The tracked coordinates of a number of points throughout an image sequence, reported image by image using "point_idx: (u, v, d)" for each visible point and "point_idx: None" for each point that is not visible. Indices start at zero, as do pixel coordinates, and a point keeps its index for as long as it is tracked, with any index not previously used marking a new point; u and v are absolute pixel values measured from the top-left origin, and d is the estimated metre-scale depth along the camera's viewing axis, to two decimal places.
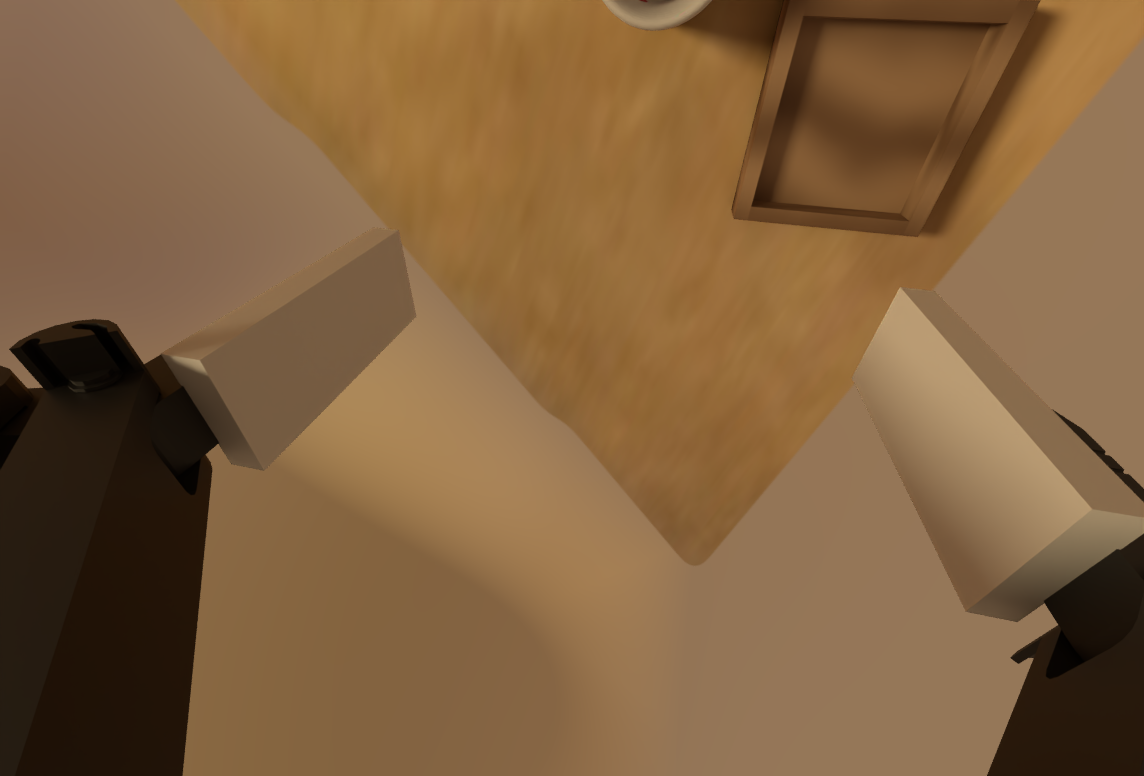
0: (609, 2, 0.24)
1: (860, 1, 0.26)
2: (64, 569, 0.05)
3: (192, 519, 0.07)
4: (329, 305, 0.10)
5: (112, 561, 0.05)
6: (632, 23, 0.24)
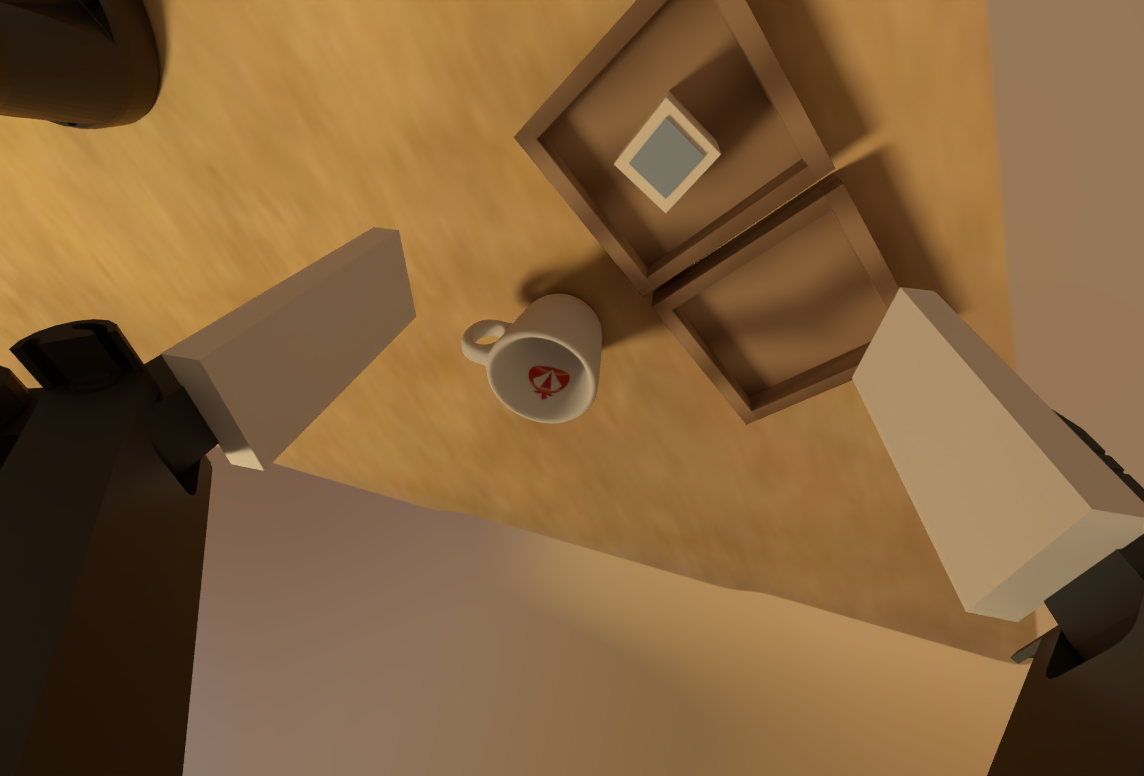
0: (544, 422, 0.33)
1: (702, 279, 0.30)
2: (65, 569, 0.05)
3: (193, 519, 0.07)
4: (329, 305, 0.10)
5: (113, 561, 0.05)
6: (565, 421, 0.33)
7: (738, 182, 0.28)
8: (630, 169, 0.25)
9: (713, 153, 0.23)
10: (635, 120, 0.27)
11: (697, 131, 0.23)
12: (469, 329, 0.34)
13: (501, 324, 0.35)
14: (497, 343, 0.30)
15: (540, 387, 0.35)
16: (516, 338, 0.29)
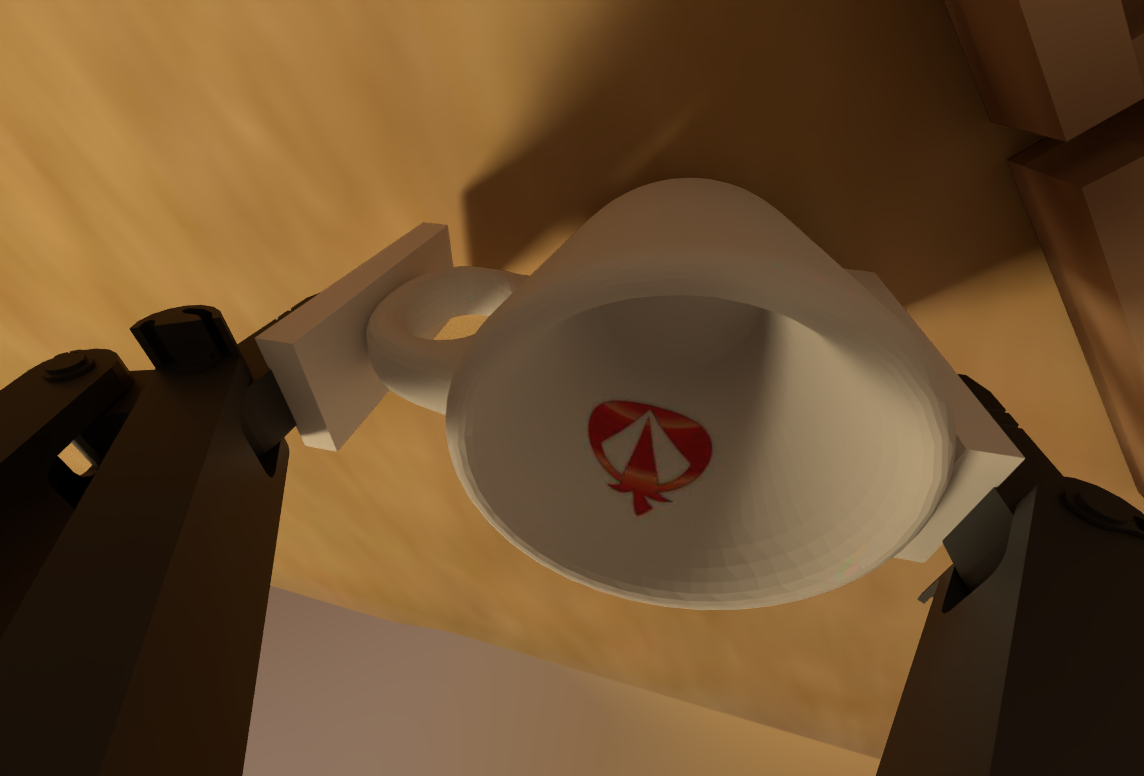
0: (655, 604, 0.10)
1: None
2: (162, 545, 0.05)
3: (270, 501, 0.08)
4: None
5: (202, 540, 0.05)
6: None
7: None
8: None
9: None
10: None
11: None
12: (398, 291, 0.10)
13: (504, 280, 0.11)
14: (485, 331, 0.06)
15: (625, 471, 0.11)
16: (580, 302, 0.06)
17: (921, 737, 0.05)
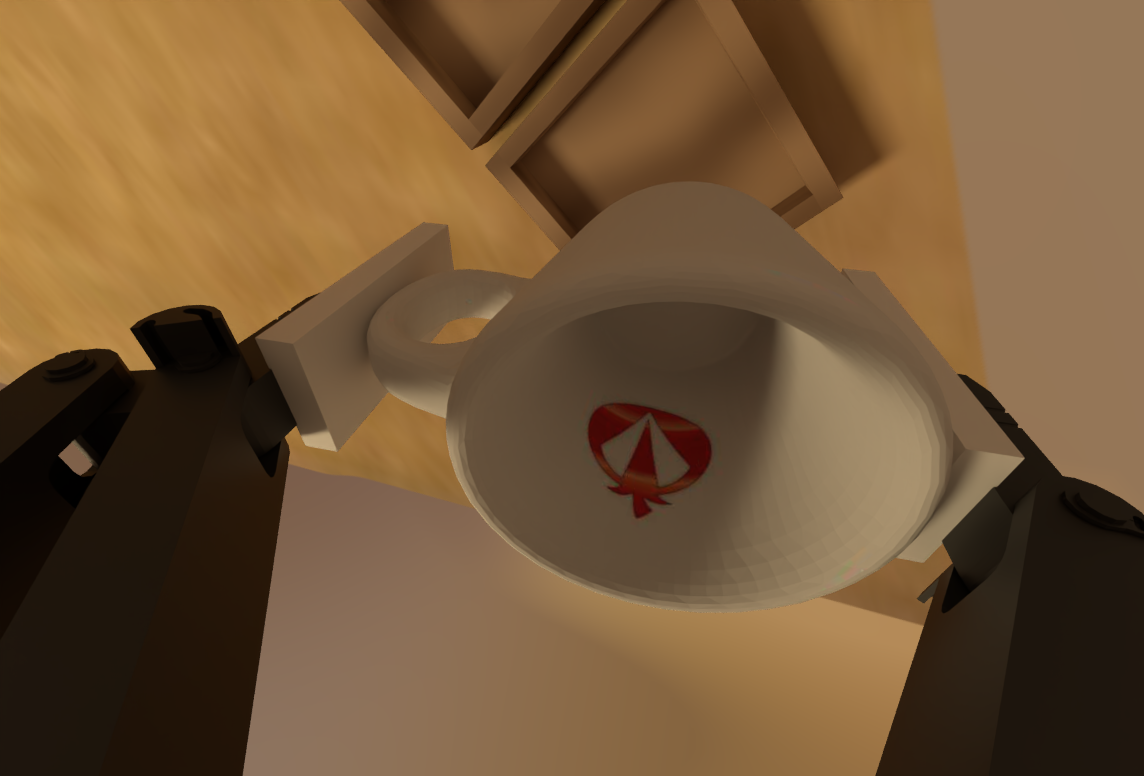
0: (654, 606, 0.10)
1: (537, 114, 0.22)
2: (162, 545, 0.05)
3: (270, 501, 0.08)
4: (392, 295, 0.11)
5: (202, 540, 0.05)
6: (730, 611, 0.09)
7: None
8: None
9: None
10: None
11: None
12: (399, 294, 0.10)
13: (504, 283, 0.11)
14: (485, 336, 0.06)
15: (625, 473, 0.11)
16: (579, 309, 0.06)
17: (921, 737, 0.05)
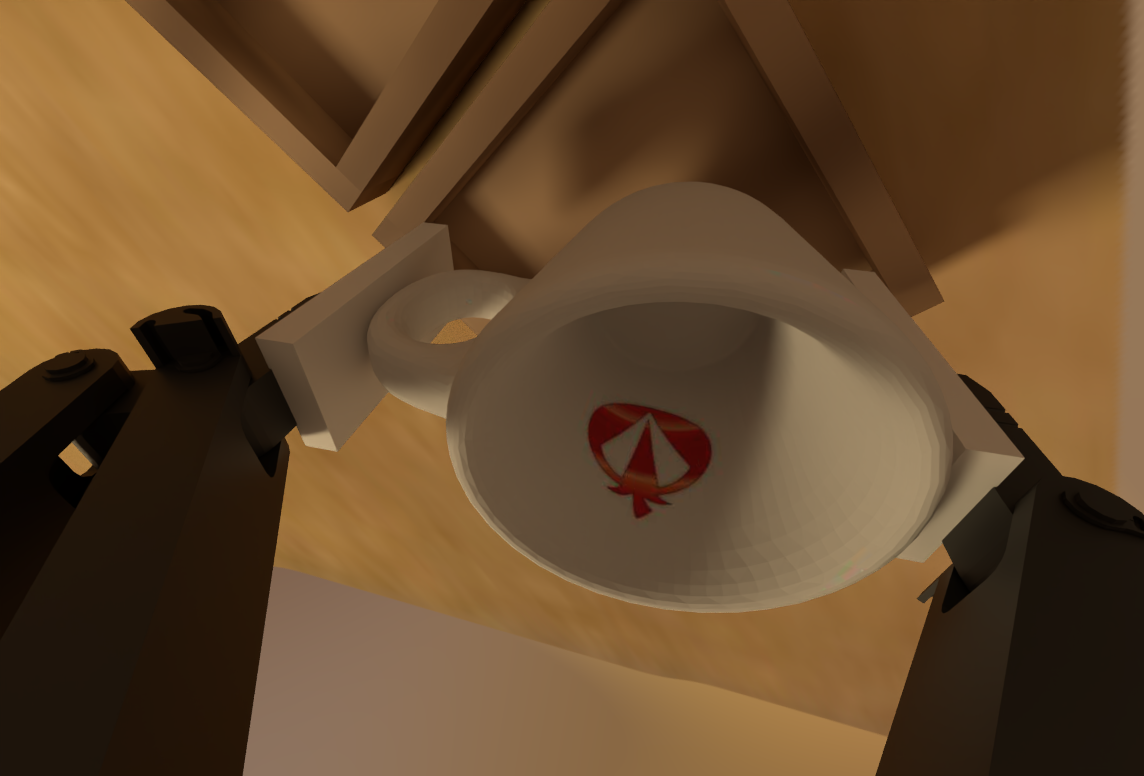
0: (654, 606, 0.10)
1: (440, 161, 0.14)
2: (161, 545, 0.05)
3: (270, 501, 0.08)
4: (391, 295, 0.11)
5: (202, 540, 0.05)
6: (730, 611, 0.09)
7: None
8: None
9: None
10: None
11: None
12: (399, 294, 0.10)
13: (504, 283, 0.11)
14: (485, 336, 0.06)
15: (625, 473, 0.11)
16: (579, 309, 0.06)
17: (921, 737, 0.05)
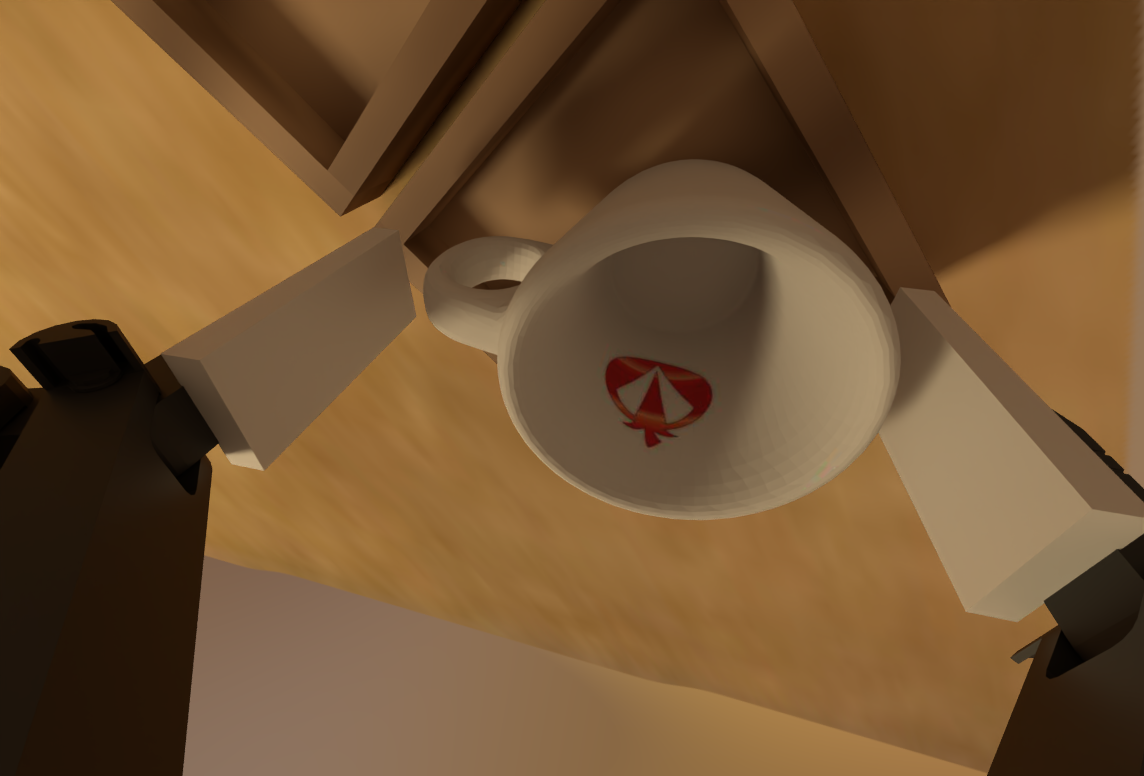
0: (663, 516, 0.11)
1: (434, 165, 0.13)
2: (65, 569, 0.05)
3: (193, 519, 0.07)
4: (329, 305, 0.10)
5: (112, 561, 0.05)
6: (727, 517, 0.11)
7: None
8: None
9: None
10: None
11: None
12: (447, 253, 0.12)
13: (534, 247, 0.13)
14: (538, 267, 0.08)
15: (638, 412, 0.13)
16: (615, 241, 0.07)
17: None
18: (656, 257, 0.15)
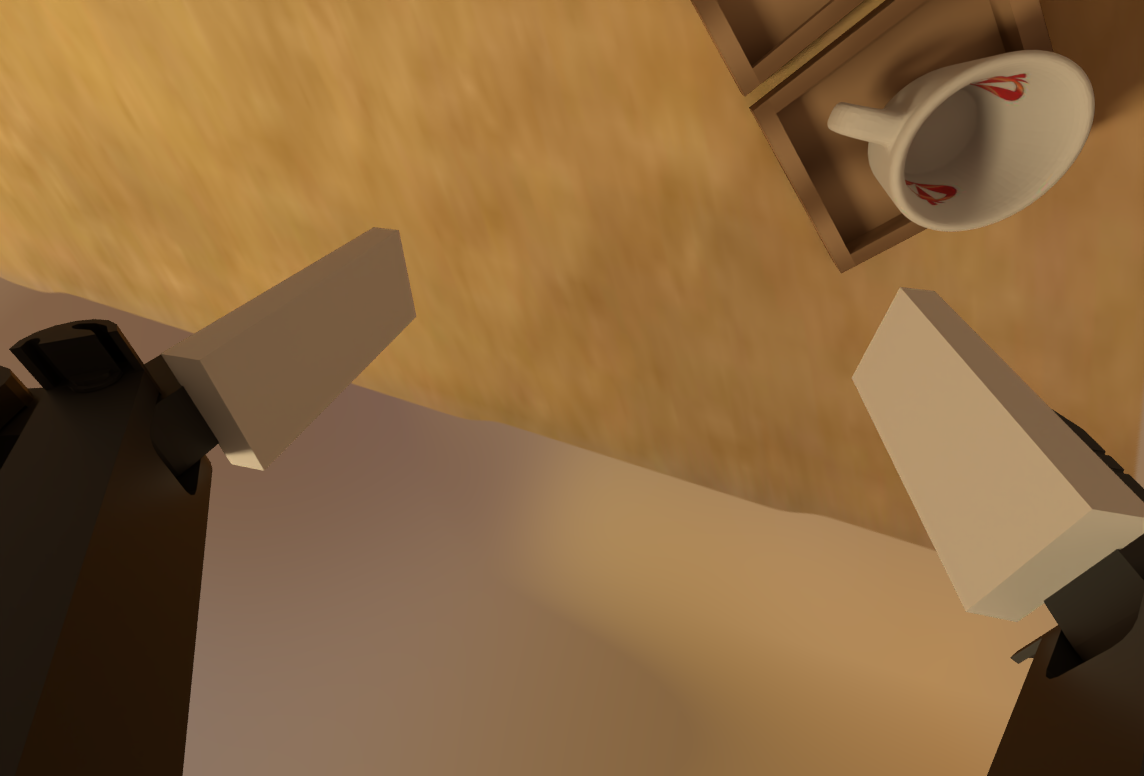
0: (949, 228, 0.24)
1: (818, 65, 0.26)
2: (64, 569, 0.05)
3: (192, 519, 0.07)
4: (329, 305, 0.10)
5: (112, 561, 0.05)
6: (983, 226, 0.24)
7: None
8: None
9: None
10: None
11: None
12: (844, 102, 0.25)
13: (871, 108, 0.26)
14: (951, 82, 0.21)
15: (919, 194, 0.26)
16: (993, 68, 0.20)
17: None
18: None
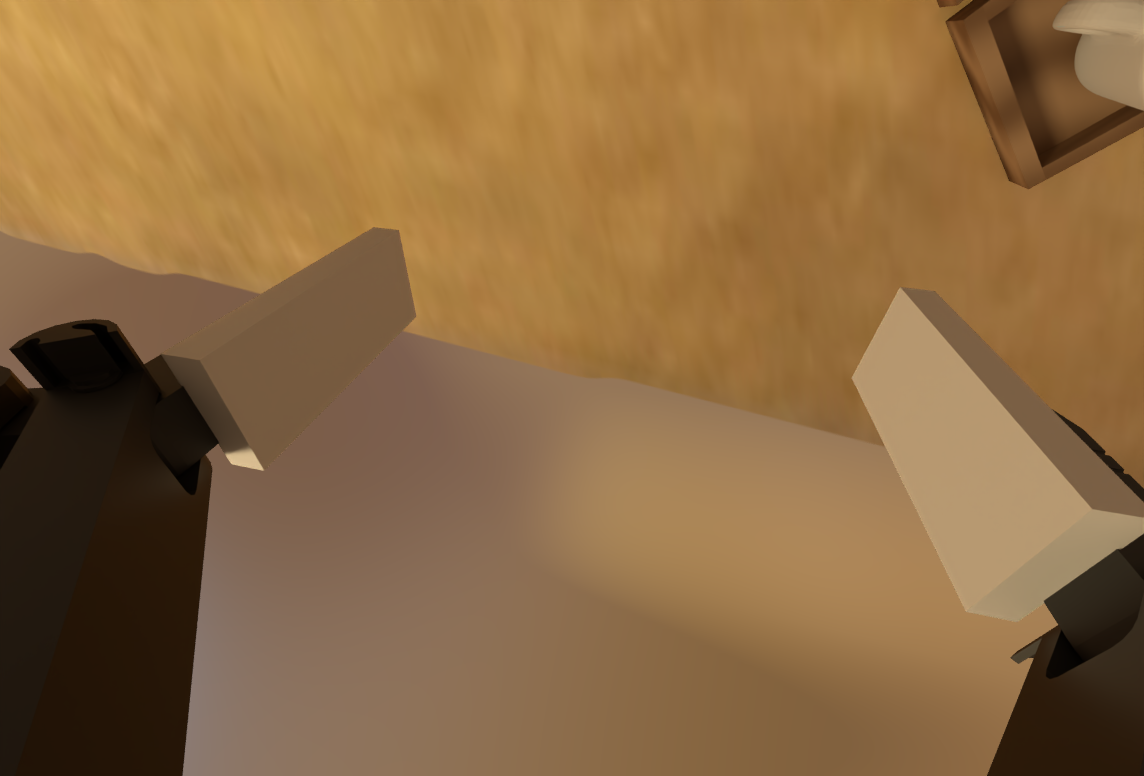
0: None
1: None
2: (65, 569, 0.05)
3: (193, 519, 0.07)
4: (329, 305, 0.10)
5: (113, 561, 0.05)
6: None
7: None
8: None
9: None
10: None
11: None
12: None
13: None
14: None
15: None
16: None
17: None
18: None
